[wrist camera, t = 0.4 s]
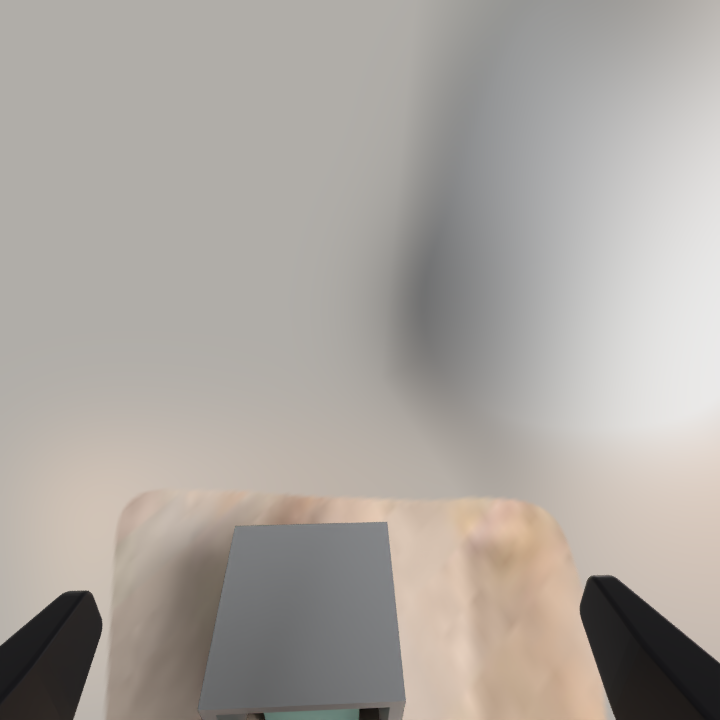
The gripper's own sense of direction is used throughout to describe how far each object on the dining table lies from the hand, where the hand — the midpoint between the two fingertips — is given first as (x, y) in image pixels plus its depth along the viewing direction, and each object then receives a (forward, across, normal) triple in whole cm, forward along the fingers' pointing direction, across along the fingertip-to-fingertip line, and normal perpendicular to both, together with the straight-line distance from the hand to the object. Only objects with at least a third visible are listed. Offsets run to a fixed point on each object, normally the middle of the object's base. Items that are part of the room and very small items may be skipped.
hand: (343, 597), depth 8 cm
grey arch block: (+8, +2, +15) cm, 17 cm away
